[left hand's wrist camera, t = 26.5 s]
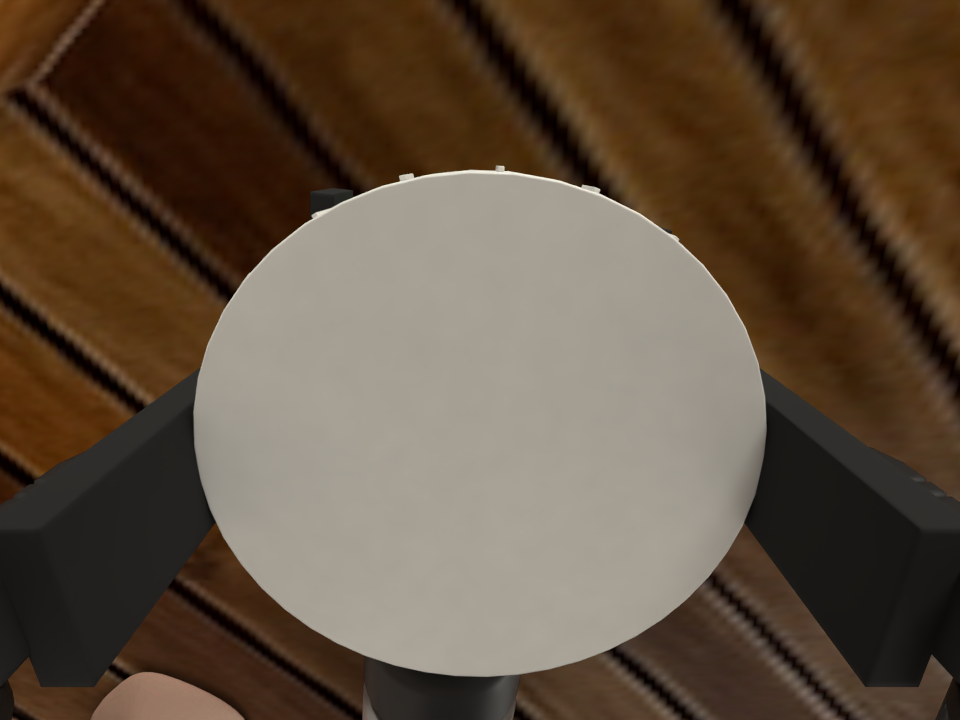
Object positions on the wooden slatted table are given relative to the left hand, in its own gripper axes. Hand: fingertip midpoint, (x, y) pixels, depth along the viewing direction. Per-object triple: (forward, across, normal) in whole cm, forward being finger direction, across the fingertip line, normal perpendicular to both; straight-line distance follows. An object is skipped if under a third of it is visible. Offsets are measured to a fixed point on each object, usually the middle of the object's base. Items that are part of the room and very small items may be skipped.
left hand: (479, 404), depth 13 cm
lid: (-3, 0, 0) cm, 3 cm away
